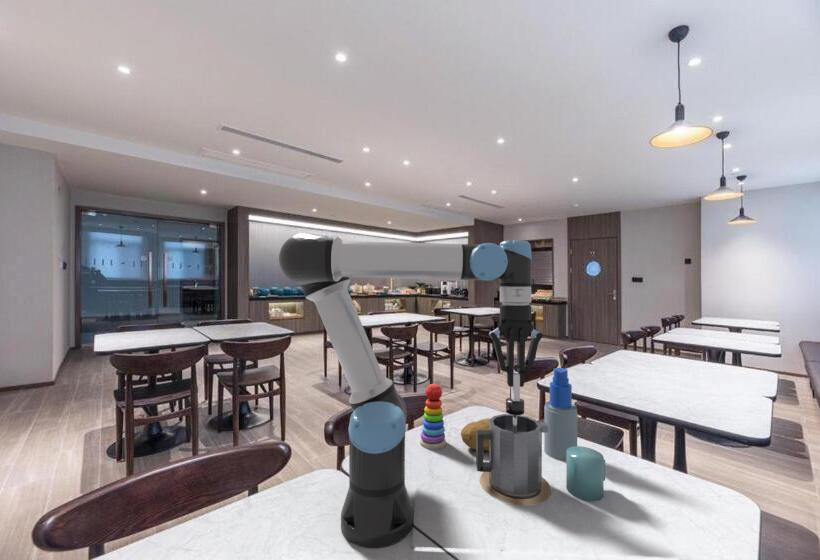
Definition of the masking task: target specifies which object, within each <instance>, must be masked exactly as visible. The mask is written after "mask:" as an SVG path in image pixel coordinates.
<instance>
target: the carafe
mask: <svg viewBox="0 0 820 560" xmlns="http://www.w3.org/2000/svg"><path fill="white" fill-rule="evenodd" d="M544 433H548V426H547V424H546V423H545V422H544V421H538V420H535V419H534V418H532V417H529V416H527V415H526V416H525V415H517V432H513V415H512V414H509V413H508V414H507V413H503V414H498V415H497V414H496V415H493V416H492V417H491V419H490V420H489V430H479V431H477V430H476V450H475V454H476V455H475V457H476V458H475V467H476V470H477V471H476V472H481V473H484V472H489V483H490V486H491V487H492V488H493V489H494V490H495V491H496V492H498V493H500V494H502V495H504V496H507V497H510V498H515V499H530V498H533V497H536V496H537V495H539V494H540V492H541V485H542V477H543V471H542V469H543V464H542V463H543V459H542V458H543V454H542V453H543V434H544ZM483 439H489V451H488V461H484V450H483Z"/></svg>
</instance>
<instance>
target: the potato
mask: <svg viewBox="0 0 820 560" xmlns="http://www.w3.org/2000/svg"><path fill="white" fill-rule="evenodd" d="M491 418H492V417H491ZM491 418H482V419H480V420H476V421H472V422H469V423H467V424H466V425H465V426H464V427H463V428H462V429H461V431H460V436H461V440H462V441H463V443H464V444H465V445H466V446H468V448H470V449H472V450H475V451H476V430H477V431H479V430H489V420H490V419H491ZM484 451H485V452H486V451H487V452H489V439H483V452H484Z"/></svg>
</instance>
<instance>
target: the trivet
mask: <svg viewBox="0 0 820 560" xmlns="http://www.w3.org/2000/svg"><path fill="white" fill-rule="evenodd" d="M479 484H480V487H481V488H482V489H483V491H484V492H486V493H487V494H488V495H489V496H490V497H492V498H494V499H495V500H498V501H499V502H503V503H506V504H510V505H514V506H527V507H528V506H537V505H540V504H543V503H544V502H547V501H548V500H549V499H550V498H551V495H552V491H553V490H552V486H551V485H550V483H549V482H548V480H547V479H545V478H544V477H543V476H542V485H541V492H540V494H539V495H537V496H536V497H533V498H530V499H515V498H510V497H507V496H504V495H502V494H500V493H498V492H496V491H495V490H494V489H493V488H492V487H491V486H490V483H489V472H482V474H481V475H480V477H479Z"/></svg>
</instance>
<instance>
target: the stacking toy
mask: <svg viewBox="0 0 820 560" xmlns="http://www.w3.org/2000/svg"><path fill="white" fill-rule="evenodd" d="M442 389H443V388H442V387H441V386H440V385H439V384H437V383H431V384H429V385H427V386H426V389H425V395H426V398H427V399H426V401H425V407H424V409H423V411H424V413H423V421H422V425H423V426H422V428H421V432H420V441H419V445H420V446H421V447H422V448H425V449H427V450H440V449H442V448H443V449H444V447H446V444H447V441H446V440H447V439H446V434H445V431H446V429H445V426H444V425H445V421H444V414H443V407H442V404H443V402H442V400H441V399H440V398H442V396H443V390H442Z"/></svg>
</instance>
